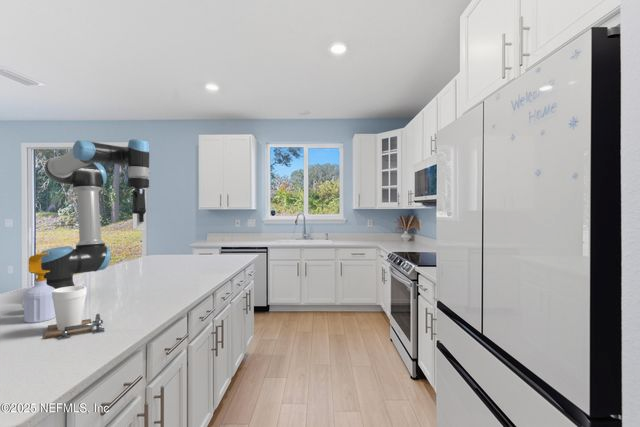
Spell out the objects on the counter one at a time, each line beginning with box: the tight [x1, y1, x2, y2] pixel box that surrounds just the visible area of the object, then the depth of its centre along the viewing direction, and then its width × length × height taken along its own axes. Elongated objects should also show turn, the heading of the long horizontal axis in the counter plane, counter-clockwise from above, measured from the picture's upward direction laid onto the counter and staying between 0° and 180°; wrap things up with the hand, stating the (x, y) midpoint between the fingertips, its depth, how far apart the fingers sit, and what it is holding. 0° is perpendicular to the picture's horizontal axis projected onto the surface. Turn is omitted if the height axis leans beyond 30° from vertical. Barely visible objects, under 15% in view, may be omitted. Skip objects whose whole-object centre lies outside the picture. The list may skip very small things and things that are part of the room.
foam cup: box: [52, 285, 88, 331], centre depth 109 cm, size 10×9×13 cm
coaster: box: [44, 318, 92, 340], centre depth 109 cm, size 12×12×1 cm
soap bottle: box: [23, 252, 56, 324], centre depth 119 cm, size 9×9×25 cm
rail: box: [57, 313, 105, 341], centre depth 110 cm, size 13×12×3 cm
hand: (138, 229), depth 133 cm, fingers open, 13 cm apart
